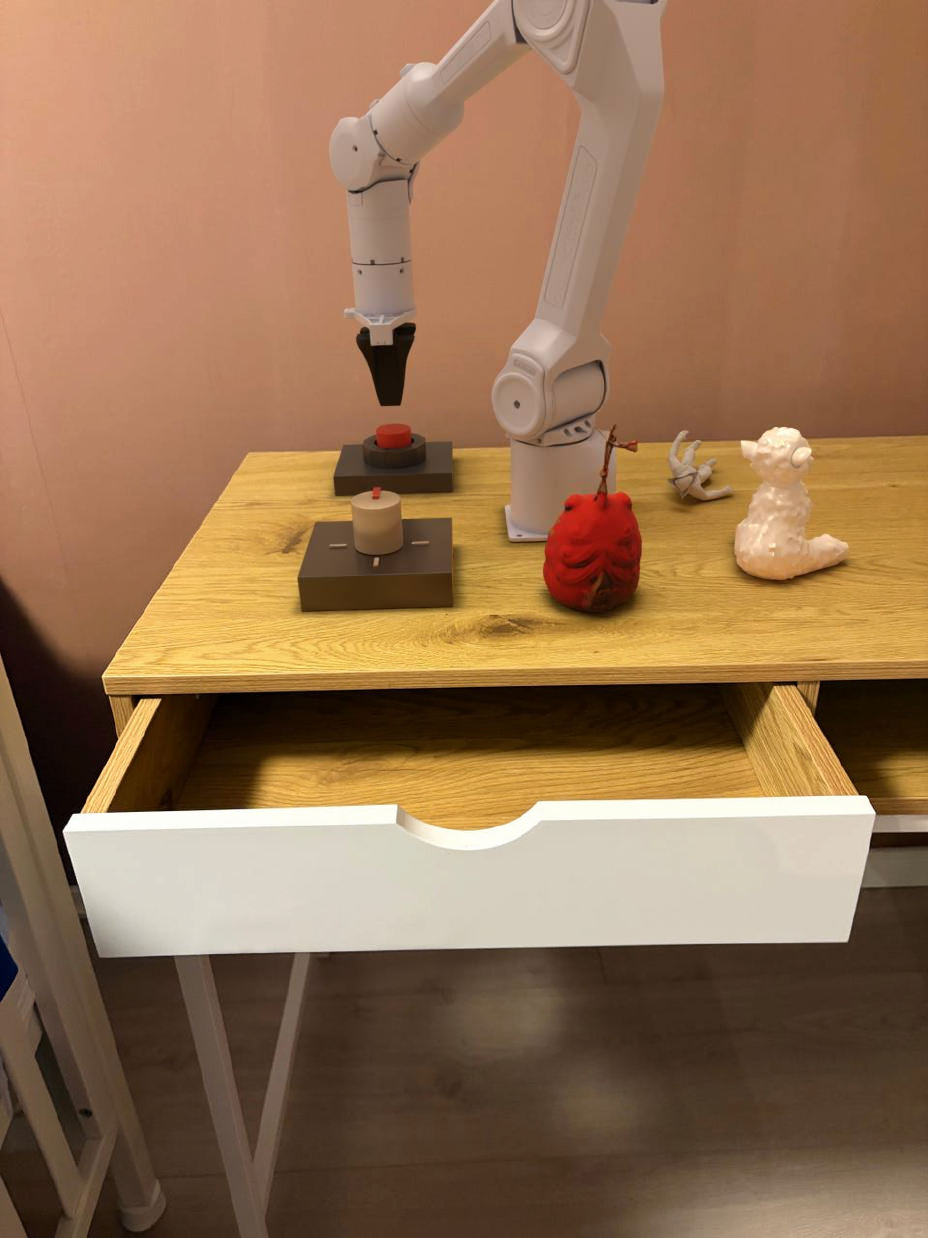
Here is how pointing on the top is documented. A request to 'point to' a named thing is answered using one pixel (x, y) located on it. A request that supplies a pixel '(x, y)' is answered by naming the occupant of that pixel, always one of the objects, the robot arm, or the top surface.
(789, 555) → the sitting furry creature
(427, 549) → the dial panel
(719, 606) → the top surface
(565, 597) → the red clay folk toy
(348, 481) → the button box
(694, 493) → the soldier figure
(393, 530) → the dial knob
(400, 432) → the button
